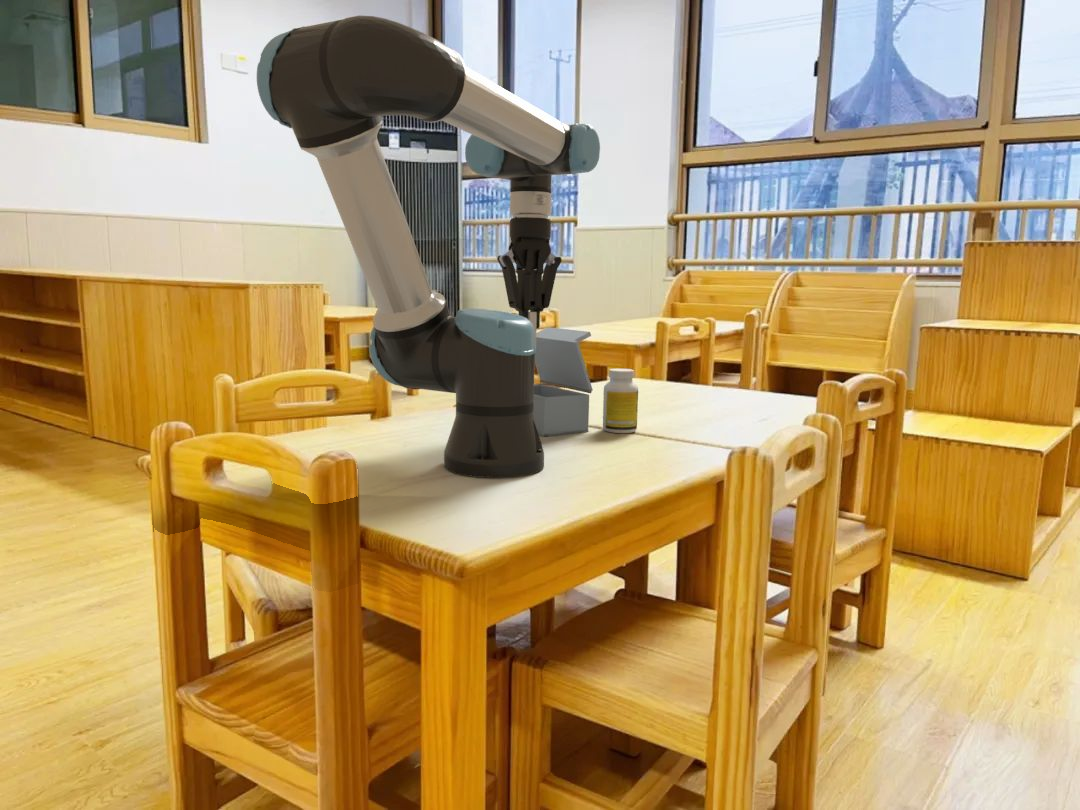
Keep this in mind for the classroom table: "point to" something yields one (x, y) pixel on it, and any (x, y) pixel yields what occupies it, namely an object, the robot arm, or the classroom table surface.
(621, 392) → the pill bottle
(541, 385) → the box
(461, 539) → the classroom table surface
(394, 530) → the classroom table surface
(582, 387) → the lid
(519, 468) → the robot arm
